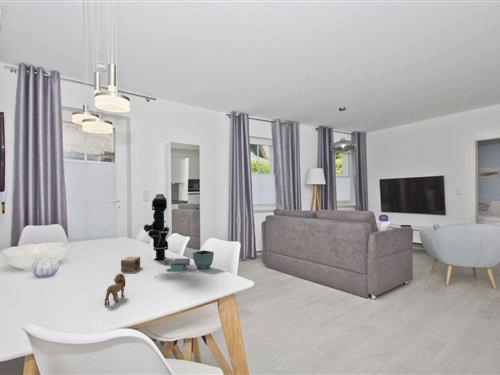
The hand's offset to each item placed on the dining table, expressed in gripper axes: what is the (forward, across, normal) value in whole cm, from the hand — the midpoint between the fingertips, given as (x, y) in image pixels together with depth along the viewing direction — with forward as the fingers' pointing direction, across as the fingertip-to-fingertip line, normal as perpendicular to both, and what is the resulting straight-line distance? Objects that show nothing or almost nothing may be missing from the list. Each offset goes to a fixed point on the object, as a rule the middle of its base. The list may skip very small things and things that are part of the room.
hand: (159, 245), depth 170 cm
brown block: (+12, +6, -14) cm, 20 cm away
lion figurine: (+12, +52, 0) cm, 53 cm away
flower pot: (+12, +4, +27) cm, 30 cm away
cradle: (+12, +6, +13) cm, 19 cm away
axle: (+10, +6, +12) cm, 17 cm away
